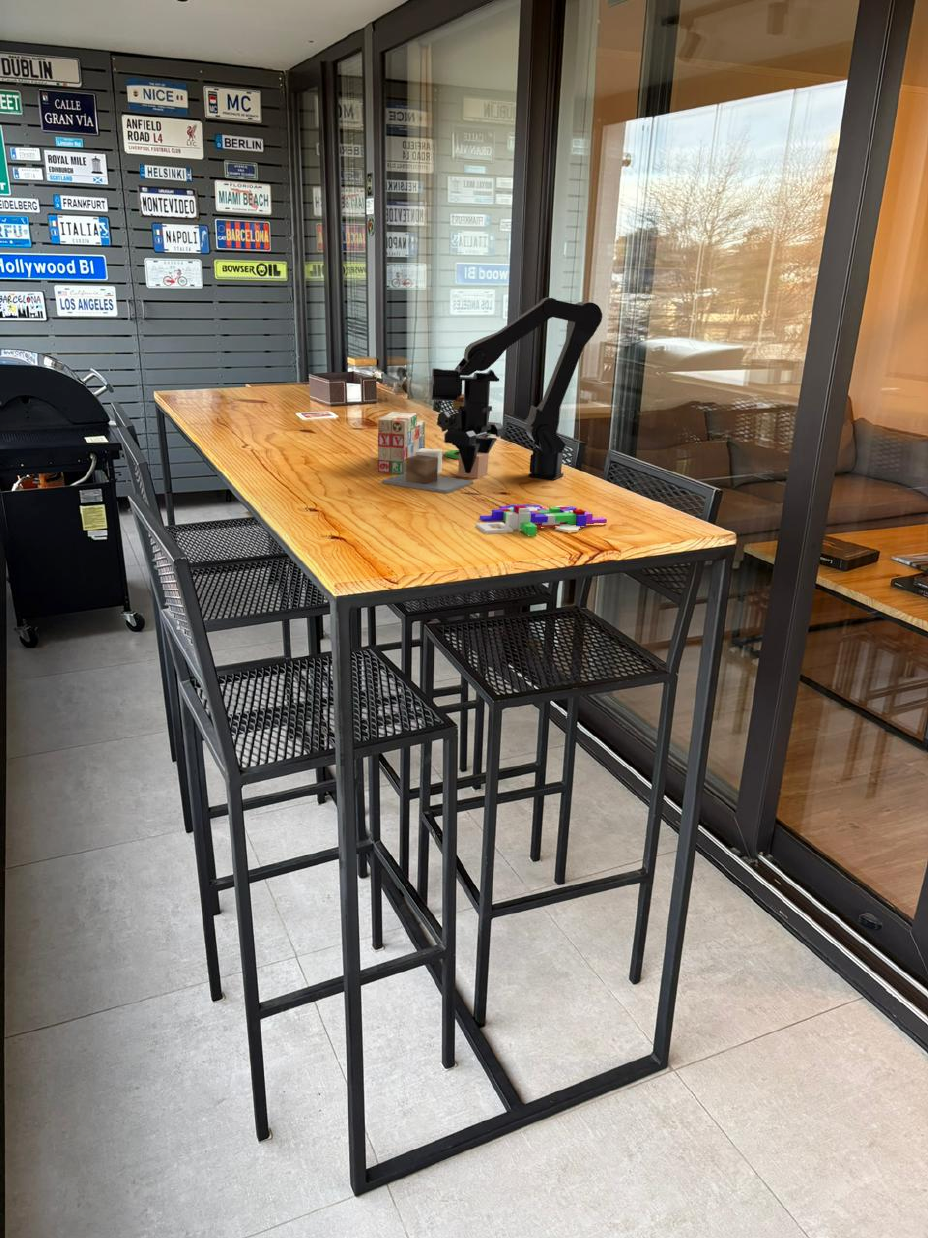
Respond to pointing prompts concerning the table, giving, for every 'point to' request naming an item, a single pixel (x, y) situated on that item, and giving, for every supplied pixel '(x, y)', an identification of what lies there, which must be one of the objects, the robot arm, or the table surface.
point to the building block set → (536, 519)
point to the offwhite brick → (432, 455)
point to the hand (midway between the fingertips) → (473, 470)
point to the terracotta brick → (475, 466)
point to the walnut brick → (421, 469)
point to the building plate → (439, 486)
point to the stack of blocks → (398, 441)
